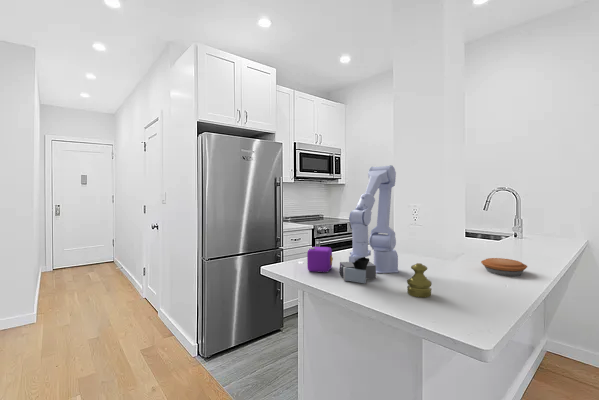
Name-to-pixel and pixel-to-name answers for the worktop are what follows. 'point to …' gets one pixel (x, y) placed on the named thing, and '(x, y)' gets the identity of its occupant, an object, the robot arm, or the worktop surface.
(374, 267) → the block
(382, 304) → the worktop surface
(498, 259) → the pie
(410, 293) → the olive chess piece
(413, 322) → the worktop surface
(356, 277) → the door
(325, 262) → the toy camera
